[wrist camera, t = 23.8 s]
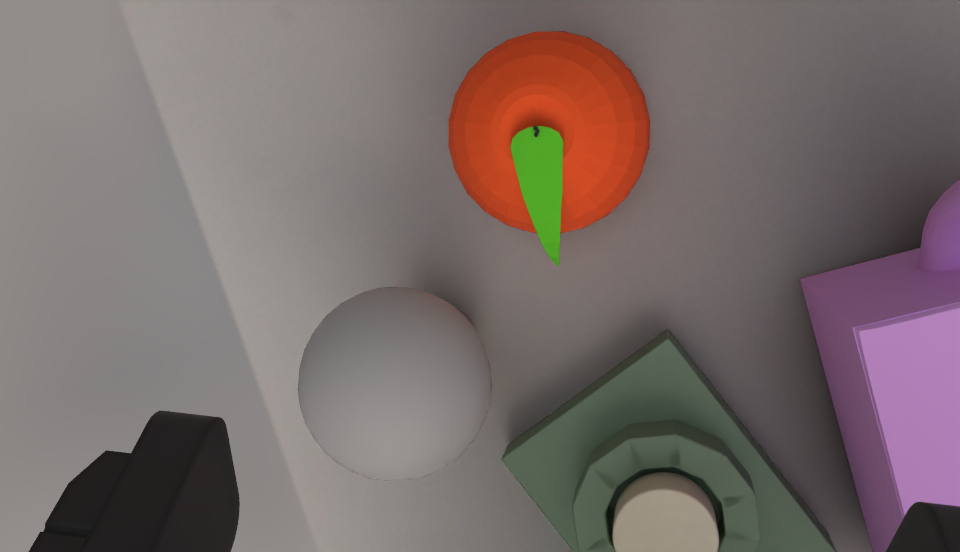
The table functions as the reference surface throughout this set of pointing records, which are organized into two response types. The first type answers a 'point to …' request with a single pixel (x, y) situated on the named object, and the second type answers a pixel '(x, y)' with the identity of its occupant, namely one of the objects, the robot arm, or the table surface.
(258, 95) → the table surface
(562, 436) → the block
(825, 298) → the teapot
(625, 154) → the clementine
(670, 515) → the button
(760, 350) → the table surface
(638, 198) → the table surface
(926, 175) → the table surface
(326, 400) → the lightbulb
